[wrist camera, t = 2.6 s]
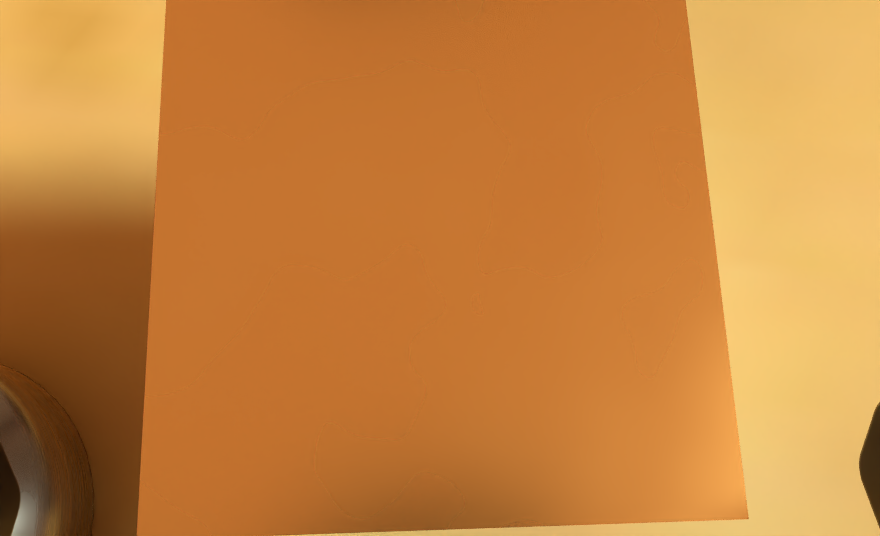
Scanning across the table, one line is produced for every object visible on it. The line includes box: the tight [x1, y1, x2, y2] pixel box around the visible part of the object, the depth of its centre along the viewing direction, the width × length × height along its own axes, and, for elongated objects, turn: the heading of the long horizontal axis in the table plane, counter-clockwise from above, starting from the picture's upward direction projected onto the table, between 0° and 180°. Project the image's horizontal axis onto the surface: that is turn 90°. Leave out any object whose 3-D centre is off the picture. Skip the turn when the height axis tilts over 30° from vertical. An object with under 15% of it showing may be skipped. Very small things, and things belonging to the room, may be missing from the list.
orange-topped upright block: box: [137, 0, 748, 536], centre depth 13 cm, size 6×6×10 cm
